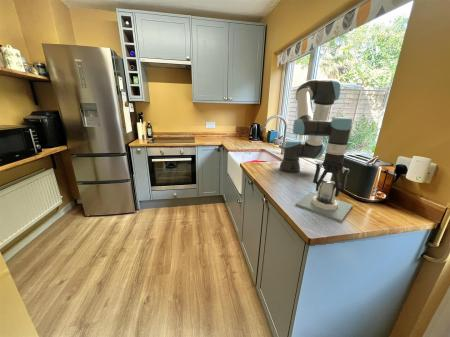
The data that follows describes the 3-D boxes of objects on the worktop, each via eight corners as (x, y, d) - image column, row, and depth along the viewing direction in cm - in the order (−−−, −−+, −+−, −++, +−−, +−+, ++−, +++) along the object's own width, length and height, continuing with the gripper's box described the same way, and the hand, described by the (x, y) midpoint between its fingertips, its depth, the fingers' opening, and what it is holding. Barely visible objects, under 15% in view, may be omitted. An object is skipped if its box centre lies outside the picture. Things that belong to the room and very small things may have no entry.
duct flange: (310, 193, 106) (311, 188, 105) (352, 206, 92) (353, 200, 92) (295, 205, 92) (296, 199, 91) (341, 222, 79) (342, 216, 78)
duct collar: (316, 201, 91) (320, 181, 88) (320, 197, 95) (324, 178, 92) (329, 205, 87) (334, 185, 84) (333, 201, 92) (337, 182, 88)
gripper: (310, 150, 88) (302, 195, 95) (358, 158, 75) (345, 209, 82) (316, 148, 93) (308, 191, 100) (362, 155, 80) (349, 204, 88)
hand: (325, 199), depth 91 cm, fingers closed on duct collar, 6 cm apart
